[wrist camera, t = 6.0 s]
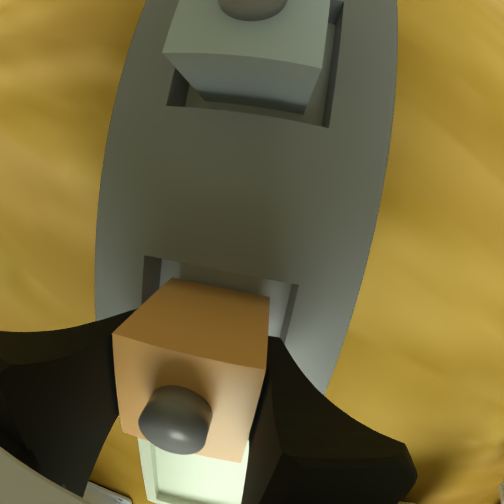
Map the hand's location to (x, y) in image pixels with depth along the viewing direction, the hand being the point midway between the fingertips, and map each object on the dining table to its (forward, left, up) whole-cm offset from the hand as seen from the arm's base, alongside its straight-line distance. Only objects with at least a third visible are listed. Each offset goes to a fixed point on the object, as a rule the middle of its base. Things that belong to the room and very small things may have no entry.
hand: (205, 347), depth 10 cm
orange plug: (0, 0, -2) cm, 2 cm away
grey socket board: (0, +6, -3) cm, 6 cm away
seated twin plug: (0, +11, -3) cm, 11 cm away
